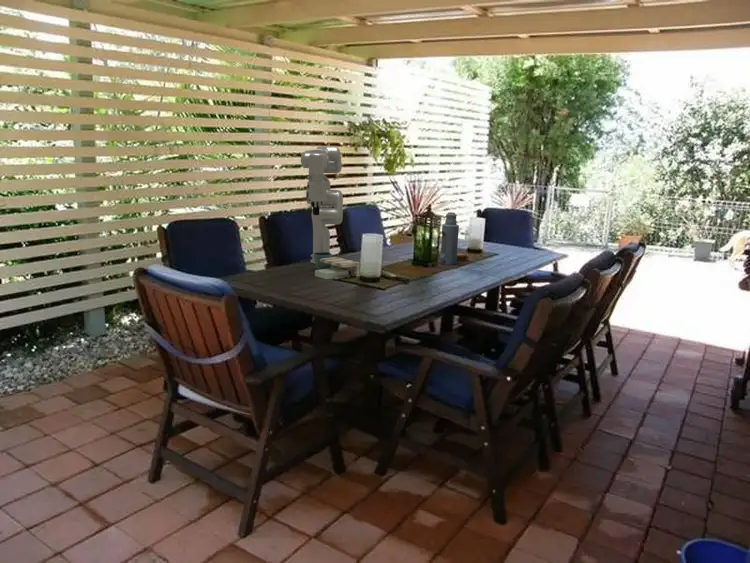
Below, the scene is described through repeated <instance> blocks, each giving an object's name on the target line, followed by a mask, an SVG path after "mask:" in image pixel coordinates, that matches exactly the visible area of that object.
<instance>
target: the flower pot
mask: <svg viewBox="0 0 750 563" xmlns="http://www.w3.org/2000/svg"><path fill="white" fill-rule="evenodd" d="M331 257H334V256H333V254H332V253H331V252H330V253H329V252H319V253H314V261H315V264H314V265H315V267H316V270H321V269H329V268H332V267H331V266H332V265H331V264H327V263H324V262H320V259H322V258H331Z"/></svg>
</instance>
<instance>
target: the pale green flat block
mask: <svg viewBox="0 0 750 563" xmlns="http://www.w3.org/2000/svg"><path fill="white" fill-rule="evenodd" d="M344 275H348V270H345V269H341V268H337V267H336V268H334V267H330V268H329V269H321V270H318V269H315V270H314V277H316V278H321V279H323V280H331V279H334V277H337V276H344Z"/></svg>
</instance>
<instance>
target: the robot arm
mask: <svg viewBox="0 0 750 563" xmlns="http://www.w3.org/2000/svg"><path fill="white" fill-rule="evenodd" d="M342 164H343V163H342V154H341V151H340V148H339V147H338V146H336V145H320V146H317V147H316V148H314V149H308V150H304V151H303V152H302V153H301V156H300V165H301V166H302V167H303V168H308V176H306V179H307V180H308V181H307V183H306V192H305V199H306V204H308V205H311V207H312V211H311V221H312V233H313V234H312V254H310V257H311V258H312V259H310V263H311V264H314V265H315V261H314V253H319V252H329V253H331V251H330V250H331V249H330V248H331V246H330V245H331V244H330V243H331V240H330V238H331V233H330V232H331V231H330V229H329V228H328V227H327V226H326V225H340V224H342V223H343V216H344V215H343V214H344V213H343V212H344V210H343V209H344V197H343V196H344V195H343V193H342V191H341V190H340V189H331V181H330V180H329V178H328V177H327V176H326V175H325V174H340V173H341V171H342V167H343V166H342Z"/></svg>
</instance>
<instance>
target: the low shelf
mask: <svg viewBox="0 0 750 563" xmlns="http://www.w3.org/2000/svg"><path fill="white" fill-rule="evenodd" d="M320 262H324V263H327V264H331V266H333V268H336V267H337V268H341V269H345V270H348V275H344V276H337V277H334V278H333V279H334V280H339V278H340V279H346V278H345V277H347V278H351V277H354V276H359V277H360V272H361V271H360V266H361V263H360V262H358V261H355V260H352V259H347V258H342V257H338V256H332V257H331V258H322V259H320ZM351 275H352V276H351ZM350 276H351V277H350Z"/></svg>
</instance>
